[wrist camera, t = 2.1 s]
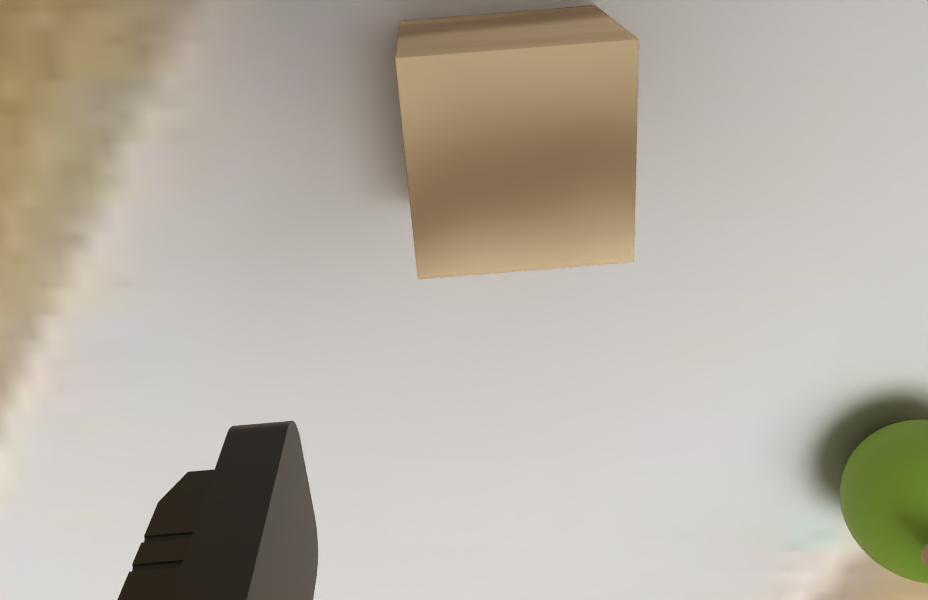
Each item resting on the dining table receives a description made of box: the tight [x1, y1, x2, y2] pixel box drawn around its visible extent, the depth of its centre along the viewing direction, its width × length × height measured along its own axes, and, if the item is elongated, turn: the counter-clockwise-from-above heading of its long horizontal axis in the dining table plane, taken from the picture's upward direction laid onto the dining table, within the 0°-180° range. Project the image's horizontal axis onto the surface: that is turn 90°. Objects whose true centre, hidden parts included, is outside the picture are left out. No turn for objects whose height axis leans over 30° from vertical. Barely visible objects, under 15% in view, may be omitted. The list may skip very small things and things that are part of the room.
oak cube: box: [395, 6, 639, 279], centre depth 23 cm, size 6×6×6 cm
